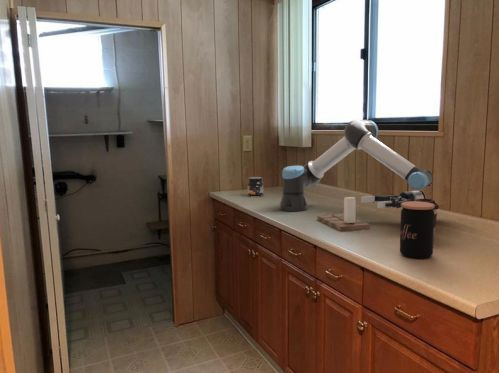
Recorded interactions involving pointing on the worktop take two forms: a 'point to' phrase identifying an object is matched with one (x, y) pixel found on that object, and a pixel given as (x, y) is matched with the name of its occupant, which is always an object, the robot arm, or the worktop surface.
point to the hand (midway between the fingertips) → (369, 202)
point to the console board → (342, 222)
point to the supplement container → (255, 186)
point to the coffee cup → (433, 209)
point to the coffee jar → (417, 229)
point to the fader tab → (349, 209)
